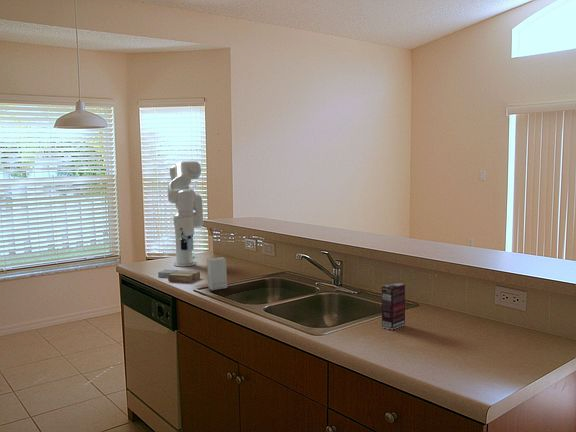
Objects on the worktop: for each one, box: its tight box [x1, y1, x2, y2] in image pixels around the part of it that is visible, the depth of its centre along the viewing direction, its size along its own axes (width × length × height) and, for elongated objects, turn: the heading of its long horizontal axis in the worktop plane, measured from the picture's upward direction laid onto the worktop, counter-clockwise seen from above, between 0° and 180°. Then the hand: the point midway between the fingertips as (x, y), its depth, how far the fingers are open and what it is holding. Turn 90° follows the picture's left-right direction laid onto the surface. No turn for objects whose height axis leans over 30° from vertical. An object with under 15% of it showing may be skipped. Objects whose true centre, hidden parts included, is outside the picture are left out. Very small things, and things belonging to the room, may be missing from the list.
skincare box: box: [206, 256, 228, 291], centre depth 257 cm, size 8×6×15 cm
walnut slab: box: [167, 269, 201, 284], centre depth 277 cm, size 12×12×4 cm
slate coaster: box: [157, 269, 179, 278], centre depth 287 cm, size 8×8×3 cm
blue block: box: [180, 238, 194, 251], centre depth 274 cm, size 5×5×6 cm
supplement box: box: [381, 282, 406, 331], centre depth 194 cm, size 9×5×16 cm, turn 133°
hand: (186, 248), depth 275 cm, fingers closed on blue block, 5 cm apart
